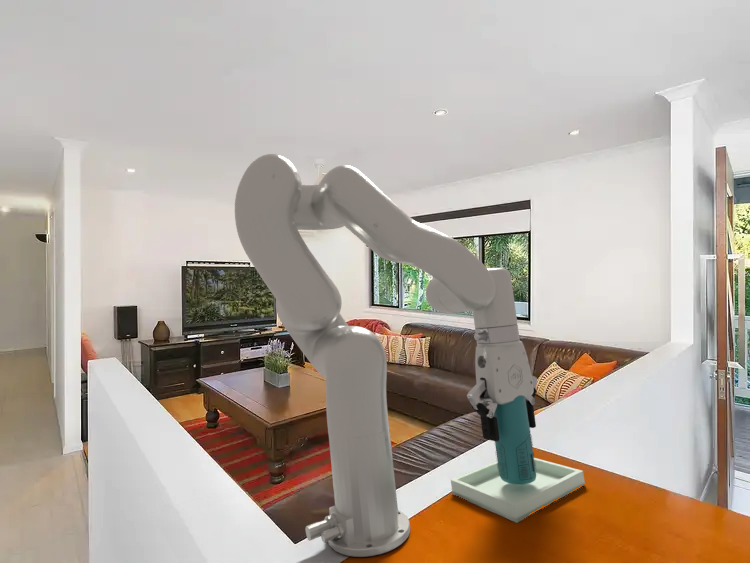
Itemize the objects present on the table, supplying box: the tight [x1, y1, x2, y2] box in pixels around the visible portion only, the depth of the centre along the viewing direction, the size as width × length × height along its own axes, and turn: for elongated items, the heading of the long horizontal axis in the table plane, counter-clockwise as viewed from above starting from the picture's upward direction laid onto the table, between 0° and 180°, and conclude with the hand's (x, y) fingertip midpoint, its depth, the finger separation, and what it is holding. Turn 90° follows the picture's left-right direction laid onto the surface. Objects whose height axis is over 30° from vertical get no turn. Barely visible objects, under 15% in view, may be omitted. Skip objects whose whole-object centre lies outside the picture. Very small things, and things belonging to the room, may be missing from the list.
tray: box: [450, 457, 586, 524], centre depth 71 cm, size 18×14×2 cm
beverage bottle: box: [493, 395, 536, 484], centre depth 72 cm, size 6×7×20 cm
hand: (510, 432), depth 72 cm, fingers open, 9 cm apart
